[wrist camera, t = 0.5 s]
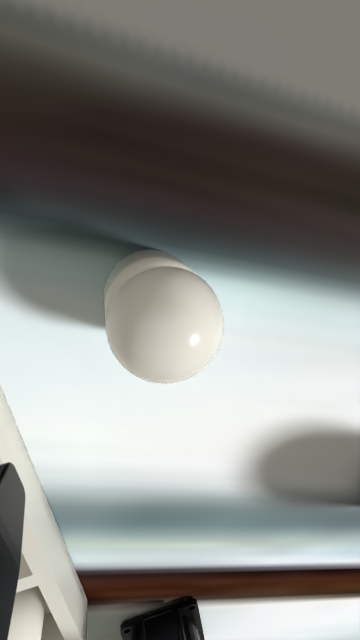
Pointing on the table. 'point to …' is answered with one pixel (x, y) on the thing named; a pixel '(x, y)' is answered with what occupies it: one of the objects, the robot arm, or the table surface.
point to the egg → (161, 317)
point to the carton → (40, 556)
